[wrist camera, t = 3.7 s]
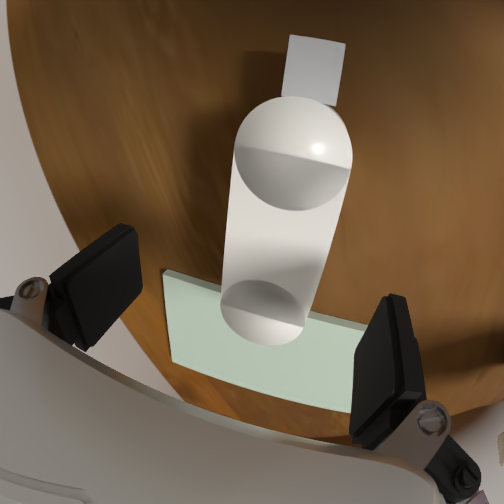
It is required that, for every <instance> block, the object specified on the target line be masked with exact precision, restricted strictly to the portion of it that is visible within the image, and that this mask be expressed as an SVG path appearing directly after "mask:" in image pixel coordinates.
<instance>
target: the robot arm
mask: <svg viewBox="0 0 504 504" xmlns="http://www.w3.org/2000/svg"><path fill="white" fill-rule="evenodd" d="M49 277H50V280H51V283H50V284H49V285H48V283H47V282H46V280H45V279H44V278H41V277H33V278H30V279H27V280H25V281H24V282H22V283H21V284H20V285H19V286H18V287H17V289H16V292H15V295H14V296H9V297H4V298H0V504H489V502H488V500H487V498H486V495H485V493H484V491H483V490H482V491H479V486H480V483H481V472H480V469H479V467H478V465H477V464H476V463H475V462H474V461H473V459H472V458H471V457H469V455H468V454H467V453H466V452H465V451H464V450H463V449H462V448H461V447H460V446H459V445H458V444H457V443H456V442H455V441H454V440H453V439H452V437H451V436H450V435H449V434H448V433H449V431H450V429H451V419H450V415H449V413H448V411H447V409H446V408H445V407H444V406H443V405H442V404H440V403H439V402H437V401H434V400H427V399H426V390H425V383H424V376H423V370H422V364H421V358H420V352H419V347H418V342H417V339H416V338H415V337H414V333H413V328H412V324H411V319H410V315H409V310H408V306H407V302H406V298H405V297H403V296H399V295H395V294H389V295H388V296H387V297H386V296H383V298H382V299H381V301H380V303H379V305H378V307H377V309H376V311H375V313H374V315H373V317H372V319H371V321H370V323H369V325H368V327H367V329H366V331H365V332H364V334H363V336H362V338H361V340H360V342H359V343H358V345H357V347H356V349H355V353H354V368H353V388H352V403H351V415H350V426H349V434H350V435H353V440H352V443H353V444H360V445H362V449H361V448H354V447H350V446H345V445H338V444H332V443H326V442H321V441H316V440H312V439H307V438H302V437H298V436H294V435H289V434H285V433H281V432H277V431H273V430H269V429H265V428H261V427H258V426H254V425H251V424H247V423H244V422H240V421H237V420H234V419H231V418H228V417H225V416H222V415H219V414H216V413H213V412H210V411H207V410H205V409H202V408H199V407H196V406H194V405H191V404H189V403H186V402H183V401H181V400H178V399H176V398H174V397H171V396H169V395H166V394H164V393H162V392H160V391H157V390H155V389H153V388H151V387H148V386H146V385H144V384H142V383H140V382H138V381H136V380H134V379H131V378H129V377H127V376H125V375H123V374H121V373H120V372H118V371H116V370H114V369H111V368H110V367H108V366H106V365H104V364H102V363H101V362H99V361H97V360H95V359H93V358H92V357H90V356H88V355H86V354H85V353H83V352H81V351H80V350H78V349H76V348H75V347H73V346H72V345H73V344H74V343H75V345H76V347H78V348H79V349H81V350H83V351H84V352H86V351H87V350H88V349H89V347H92V346H94V345H95V344H96V343H97V342H98V341H99V339H100V338H101V337H102V336H103V335H104V333H105V332H106V331H107V330H108V329H109V328H110V327H111V326H112V324H113V323H114V322H115V321H116V320H117V319H118V318H119V317H120V315H121V314H122V313H123V312H124V311H125V310H126V309H127V308H128V306H129V305H130V304H131V303H132V302H133V301H134V300H135V299H136V298H137V297H138V295H139V294H140V293H141V291H142V287H143V284H142V276H141V267H140V257H139V247H138V235H137V232H136V231H135V229H134V227H132V226H129V225H125V224H121V223H120V224H118V225H116V226H115V227H114V228H112V229H111V230H109V231H108V232H106V233H105V234H104V235H102V236H101V237H99V238H98V239H97V240H95V241H94V242H92V243H91V244H90V245H88V246H87V247H86V248H84V249H83V250H81V251H80V252H79V253H78V254H76V255H75V256H74V257H72V258H71V259H70V260H68V261H67V262H66V263H64V264H63V265H62V266H61V267H59V268H58V269H57V270H56V271H54V272H53V273H52V274H51V275H50V276H49Z"/></svg>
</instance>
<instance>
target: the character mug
mask: <svg viewBox="0 0 504 504" xmlns="http://www.w3.org/2000/svg"><path fill="white" fill-rule="evenodd" d="M498 450H499V460H500V463H501V466H504V432H503V433H501V434H500V435H499V436H498Z"/></svg>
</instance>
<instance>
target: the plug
mask: <svg viewBox="0 0 504 504" xmlns="http://www.w3.org/2000/svg"><path fill="white" fill-rule="evenodd" d="M345 45H346V44H343V43H339V42H334V41H329V40H323V39H317V38H311V37H304V36H297V35H290V38H289V45H288V52H287V59H286V65H285V72H284V79H283V86H282V93H281V96H284V97H278V98H274V99H271V100H268V101H266V102H264V103H262V104H260V105H259V106H257V107H256V108H255V109H253V110H252V111H251V112H250V113H249V114H248V115H247V116H246V118H245V119H244V121H243V122H242V124H241V126H240V128H239V130H238V132H237V136H236V140H235V146H234V155H233V164H232V174H231V184H230V194H229V204H228V215H227V226H226V237H225V249H224V261H223V274H222V287H221V301H220V309H221V313H222V316H223V318H224V320H225V322H226V323H227V325H228V326H229V327H230V328H231V329H232V330H233V331H234V332H235V333H236V334H238V335H239V336H241V337H242V338H244V339H246V340H248V341H251V342H253V343H257V344H260V345H268V346H276V345H282V344H286V343H289V342H291V341H293V340H294V339H295V338H297V337H298V336H299V335H300V333H301V332H302V330H303V328H304V325H305V322H306V320H307V317H308V314H309V311H310V308H311V305H312V302H313V299H314V296H315V293H316V290H317V287H318V284H319V281H320V278H321V275H322V272H323V269H324V266H325V262H326V259H327V256H328V253H329V249H330V246H331V242H332V239H333V236H334V232H335V229H336V225H337V222H338V218H339V214H340V211H341V207H342V203H343V199H344V196H345V192H346V188H347V184H348V180H349V176H350V172H351V167H352V146H351V142H350V138H349V135H348V132H347V129H346V126H345V124H344V122H343V120H342V118H341V117H340V115H339V114H338V113H337V112H336V111H335V110H334V109H333V108H332V107H330V106H329V105H332V106H336V102H337V96H338V90H339V85H340V78H341V72H342V66H343V59H344V53H345Z"/></svg>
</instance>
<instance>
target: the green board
mask: <svg viewBox="0 0 504 504" xmlns="http://www.w3.org/2000/svg"><path fill="white" fill-rule="evenodd" d="M163 285H164V296H165V306H166V315H167V324H168V332H169V340H170V348H171V355H172V362H175V363H177V364H180V365H182V366H185V367H187V368H190V369H193V370H195V371H198V372H201V373H203V374H206V375H209V376H212V377H214V378H217V379H220V380H223V381H226V382H229V383H232V384H235V385H238V386H241V387H245V388H248V389H251V390H254V391H258V392H261V393H265V394H268V395H272V396H275V397H279V398H283V399H287V400H291V401H295V402H299V403H303V404H307V405H312V406H316V407H321V408H326V409H331V410H336V411H341V412H346V413H351V403H352V388H353V368H354V353H355V349H356V347H357V345H358V343H359V342H360V340H361V338H362V336H363V334H364V332H365V331H366V329H367V327H368V325H365V324H361V323H357V322H353V321H349V320H345V319H341V318H337V317H333V316H329V315H325V314H321V313H317V312H313V311H309V314H308V317H307V320H306V322H305V325H304V328H303V330H302V332H301V333H300V335H299V336H298V337H297V338H295V339H294V340H293V341H291V342H289V343H286V344H282V345H276V346H268V345H260V344H257V343H253V342H251V341H248V340H246V339H244V338H242V337H241V336H239V335H238V334H236V333H235V332H234V331H233V330H232V329H231V328H230V327H229V326H228V325H227V323H226V322H225V320H224V318H223V316H222V313H221V309H220V301H221V287H222V286H221V285H217V284H214V283H211V282H208V281H204V280H201V279H198V278H195V277H191V276H188V275H185V274H182V273H179V272H175V271H172V270H169V269H167V270H166V271H165V272H164V273H163Z"/></svg>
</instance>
